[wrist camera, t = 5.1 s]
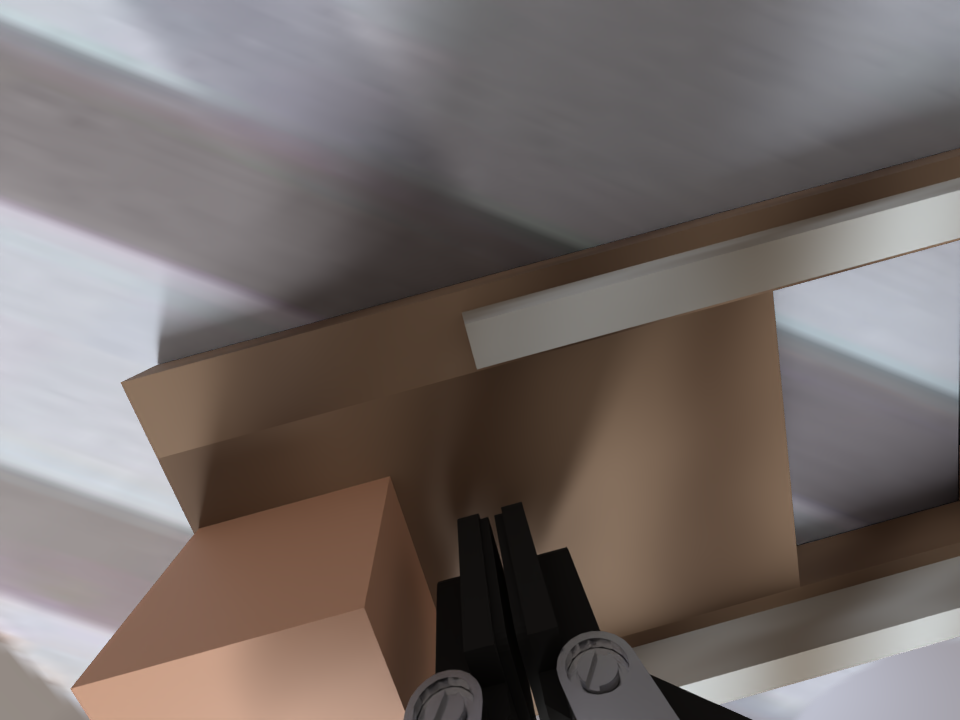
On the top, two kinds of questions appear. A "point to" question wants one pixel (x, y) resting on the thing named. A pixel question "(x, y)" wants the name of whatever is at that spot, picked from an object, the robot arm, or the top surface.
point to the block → (278, 620)
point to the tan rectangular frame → (600, 433)
